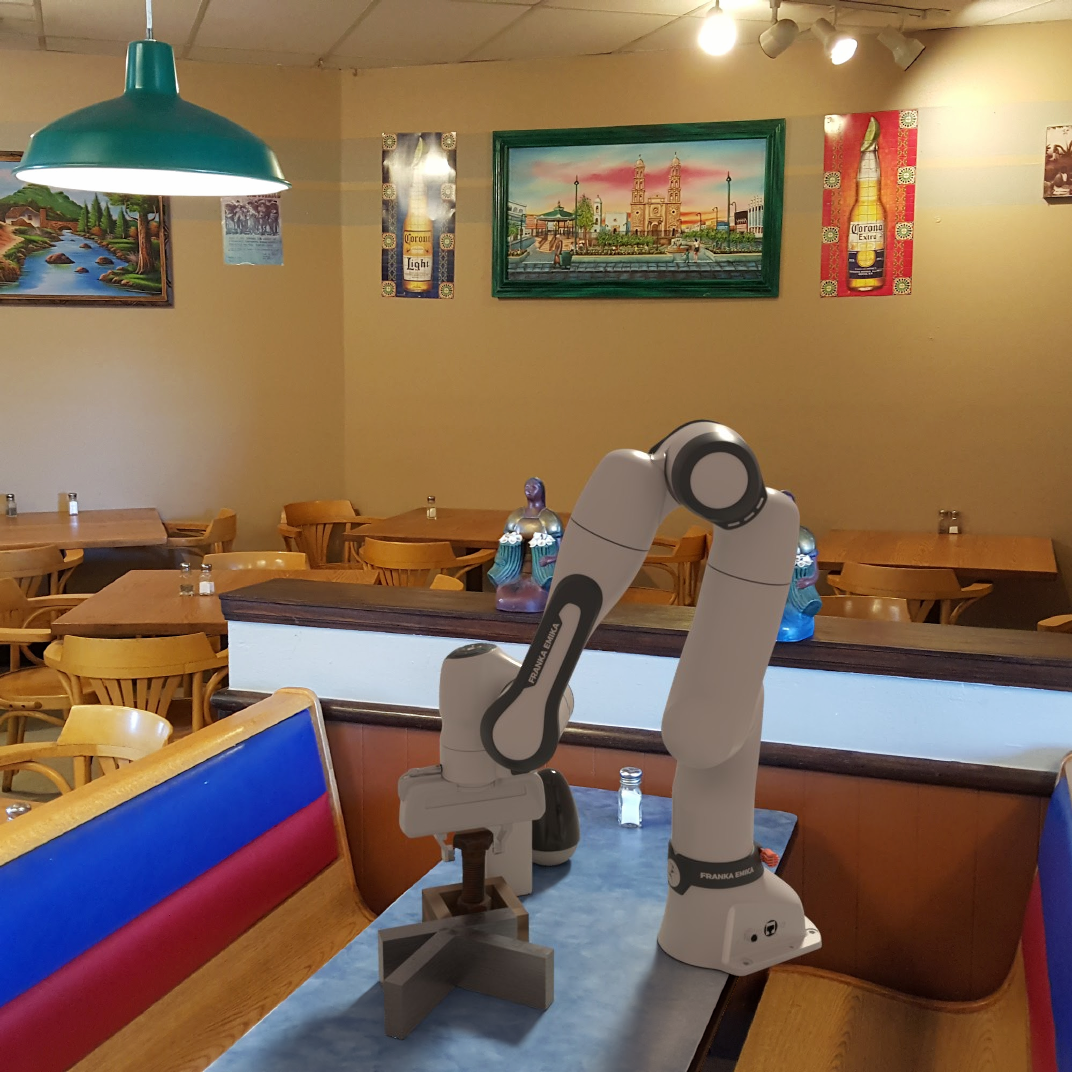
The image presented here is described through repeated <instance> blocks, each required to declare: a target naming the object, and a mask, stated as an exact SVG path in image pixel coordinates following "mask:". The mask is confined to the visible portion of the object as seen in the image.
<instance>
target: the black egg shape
mask: <svg viewBox="0 0 1072 1072" xmlns="http://www.w3.org/2000/svg"><path fill="white" fill-rule="evenodd" d="M536 773H537V774H538V775H539V776H540V777H541V779H542V782H543V786H544V794H545V812H544V814H543V815H542V817H541V818H540V819H537V820H532V863H535V864H537V865H539V866H540V865H541V866H545V865H546V866H548V867H550V866H552V865H553V866H558V865H562V864H564V863H566V862H567V861H568V860H570V859H571V858H572V857H573V855H574V854H575V852H576V850H577V848H578V844H579V843H580V840H581V825H580V817H579V812H578V808H577V804H576V801H575V797H574V794H573V792H572V789H571V787H570V785H569V782H568V780H567V779H566V777H565V776H564V774H563V773H562V772H561V771H560V770H558V769H556V768H552V767H544V768H541V769H538V771H537V772H536Z"/></svg>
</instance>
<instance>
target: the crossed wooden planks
mask: <svg viewBox="0 0 1072 1072" xmlns="http://www.w3.org/2000/svg"><path fill="white" fill-rule="evenodd" d="M377 951H378V952H377V953H378V954H377V955H378V956H377V957H378V958H377V959H378V981H379V984H380V986H381V988H382V991H383V1008H384V1009H383V1011H384V1012H383V1013H384V1035H385V1034H386V1035H385V1036H387V1035H389V1036H388V1037H390V1036H393V1037H392V1038H394V1037H396V1038H395V1039H397V1038H400V1039H399V1040H401V1039H404V1038H405V1037H408V1036H409V1034H411V1032H412V1031H413V1030H414V1029H415V1028H416V1027H418V1026H419V1025H420V1023H422V1022H423V1020H424V1019H425V1018H426V1017H427V1016H428V1015H429V1014H430V1013H431V1012H432V1011H433V1010H435V1008H436V1007H437V1006H438V1005H439V1004H440V1003H441V1002H442V1001H443V1000H444V999H445V998H446V997H447V996H449V994H450V993H451V992H452V991H453V990H454V989H455V987H457V988H461V989H464V990H468V991H471V992H475V993H479V994H483V995H486V996H491V997H493V998H494V997H495V998H498V999H501V1000H505V1001H508V1002H513V1003H516V1004H520V1005H524V1006H527V1007H531V1008H535V1009H539V1010H543V1011H547V1010H548V1008H549V1007H550V1006H551V1005H552V1003H553V1002H555V948H553V947H548V946H545V945H540V944H537V943H533V942H530V941H529V942H525V941H521V940H517V916H516V915H515V913H514V912H513V910H512V909H511V908H510V907H508V908H502V909H496V910H491V911H485V912H479V913H473V914H468V915H462V916H456V917H450V918H445V919H439V920H433V921H427V922H416V923H412V924H405V925H399V926H394V927H393V926H392V927H388V928H382V929H381V928H380V929H377ZM405 1039H406V1038H405ZM405 1039H404V1040H405Z"/></svg>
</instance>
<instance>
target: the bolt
mask: <svg viewBox="0 0 1072 1072" xmlns="http://www.w3.org/2000/svg"><path fill="white" fill-rule="evenodd" d="M493 841H494V836H493V833H492V832H491V831H490V830H489V829H487V828H485V827H483V828H476V829H469V830H463V831H456V832H455V833H454V835H453V838H452V846H453V848H454V849H458V850H460V855H461V863H462V864H461V866H462V867H461V868H462V876H461V877H462V878H461V879H462V880H461V881H462V882H461V883H462V884H463V885H462V889H463V890H462V891H463V892H462V893H463V894H462V895H461V896H460V897H459V899H458V901H457V912H458V913H459V914H461V915H468V914H473V913H479V912H485V911H490V908H491V898H490V897H489V896H488V895H487V894H486V893H485V855H486V850H489V848H490V846H491V844H492V843H493Z"/></svg>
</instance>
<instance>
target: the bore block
mask: <svg viewBox="0 0 1072 1072" xmlns="http://www.w3.org/2000/svg"><path fill="white" fill-rule="evenodd" d="M462 885H463V884H462V882H457V883H451V884H444V885H439V886H432V887H426V888H422V889H421V917H422V922H427V921H433V920H439V919H445V918H450V917H456V916H462V915H461V914H459V913H458V912H457V901H458V899H459V897H460V896H461V895H462V894H463V893H462V892H463V891H462V890H463V889H462ZM485 893H486V894H487V895H488V896H489V897H490V898H491V908H490V911H491V910H496V909H502V908H508V907H510V908H511V909H512V910H513V912H514V913H515V915H516V916H517V940H521V941H525V942H529V943H530V913H529V912H528V911H527V910H526V908H525V906H524V905H523V904H522V902H521V900H520V899H519V897H518V896H516V895H515V894H514V892H513V891H512V890H511V888H510V887H509V885H508V884H507V883H506V881H505V880H504V878H503V877H502V876H499V877H492V878H486V879H485Z"/></svg>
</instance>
